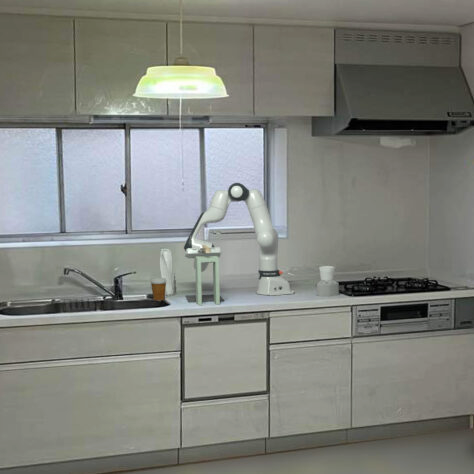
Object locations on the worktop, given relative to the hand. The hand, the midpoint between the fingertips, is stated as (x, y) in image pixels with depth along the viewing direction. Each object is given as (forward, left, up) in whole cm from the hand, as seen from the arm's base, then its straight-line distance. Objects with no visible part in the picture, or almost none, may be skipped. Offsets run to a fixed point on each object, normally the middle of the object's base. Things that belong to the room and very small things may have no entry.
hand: (204, 247), depth 411 cm
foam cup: (-80, -28, -31) cm, 90 cm away
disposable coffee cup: (+26, -10, -31) cm, 42 cm away
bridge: (0, +10, -31) cm, 32 cm away
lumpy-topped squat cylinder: (-72, -1, -31) cm, 78 cm away
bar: (0, +6, -2) cm, 6 cm away
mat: (0, -6, -31) cm, 31 cm away
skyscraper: (+20, -26, -31) cm, 45 cm away
